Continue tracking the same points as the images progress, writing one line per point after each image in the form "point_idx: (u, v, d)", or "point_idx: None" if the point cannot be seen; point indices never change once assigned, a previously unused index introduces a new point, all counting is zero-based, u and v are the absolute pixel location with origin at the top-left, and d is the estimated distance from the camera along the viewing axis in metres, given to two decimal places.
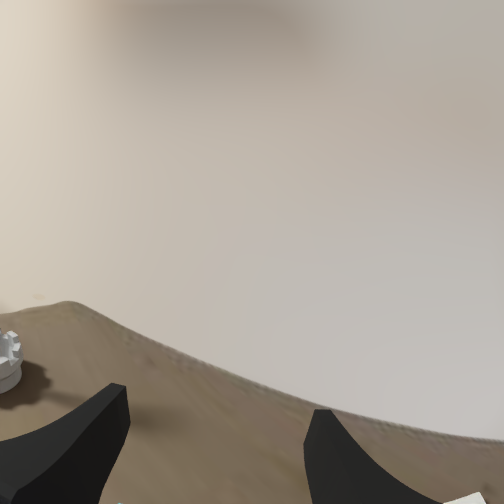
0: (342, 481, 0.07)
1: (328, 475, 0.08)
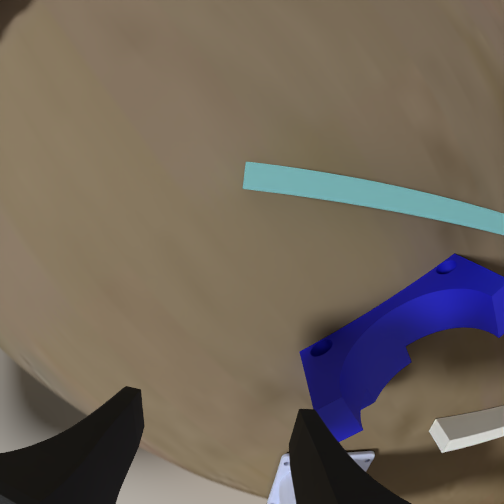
0: (322, 482, 0.07)
1: (310, 475, 0.08)
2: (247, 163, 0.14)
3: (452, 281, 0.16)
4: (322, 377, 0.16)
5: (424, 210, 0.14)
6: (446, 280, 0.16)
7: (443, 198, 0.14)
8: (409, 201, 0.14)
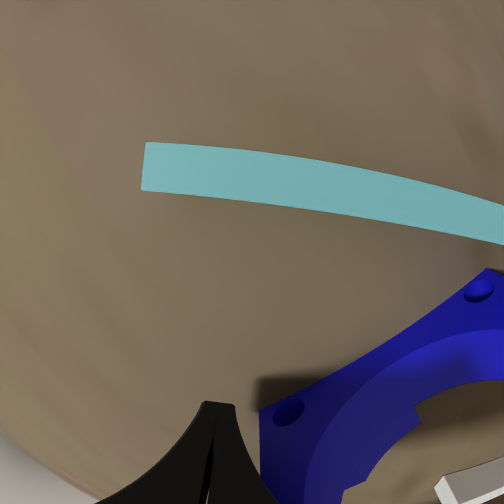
0: None
1: None
2: (148, 145, 0.07)
3: (490, 316, 0.09)
4: (282, 465, 0.09)
5: (465, 224, 0.08)
6: (481, 313, 0.10)
7: (493, 204, 0.08)
8: (442, 208, 0.08)
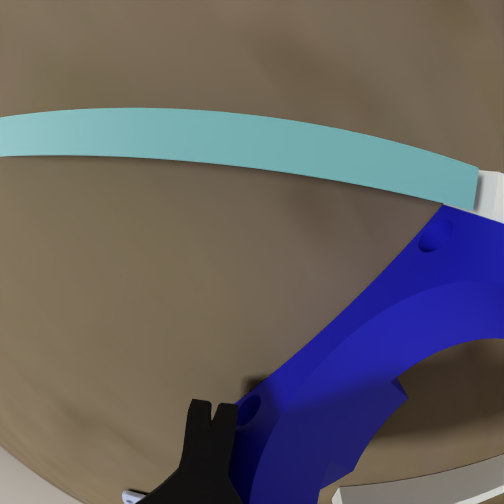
0: None
1: None
2: None
3: (448, 265, 0.08)
4: (236, 469, 0.09)
5: (160, 144, 0.07)
6: (437, 264, 0.09)
7: (210, 114, 0.07)
8: (125, 130, 0.07)
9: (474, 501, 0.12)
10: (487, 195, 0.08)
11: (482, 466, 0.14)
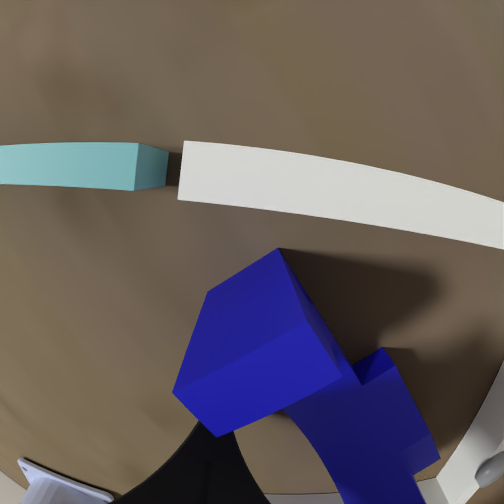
0: None
1: None
2: None
3: None
4: None
5: None
6: None
7: None
8: None
9: None
10: None
11: None
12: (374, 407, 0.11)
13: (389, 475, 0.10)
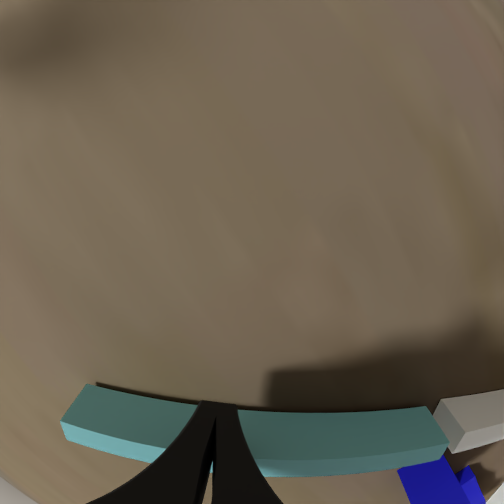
0: None
1: (214, 470, 0.08)
2: (61, 422, 0.10)
3: None
4: None
5: (270, 472, 0.10)
6: None
7: (301, 460, 0.10)
8: None
9: None
10: (455, 438, 0.11)
11: None
12: None
13: None
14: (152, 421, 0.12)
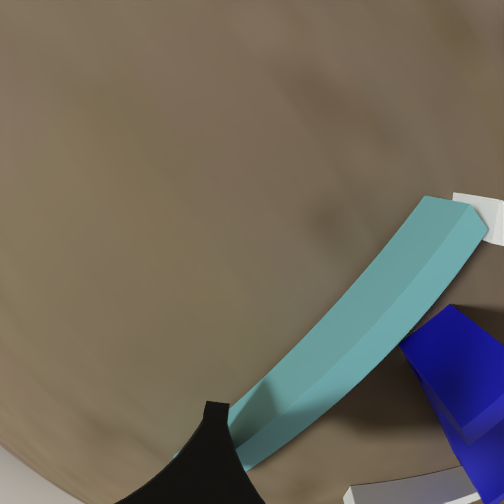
0: None
1: None
2: None
3: (434, 401, 0.11)
4: (473, 483, 0.11)
5: (315, 410, 0.10)
6: (431, 396, 0.11)
7: (321, 379, 0.09)
8: (290, 423, 0.10)
9: (477, 497, 0.13)
10: (488, 220, 0.09)
11: None
12: None
13: (500, 452, 0.11)
14: None
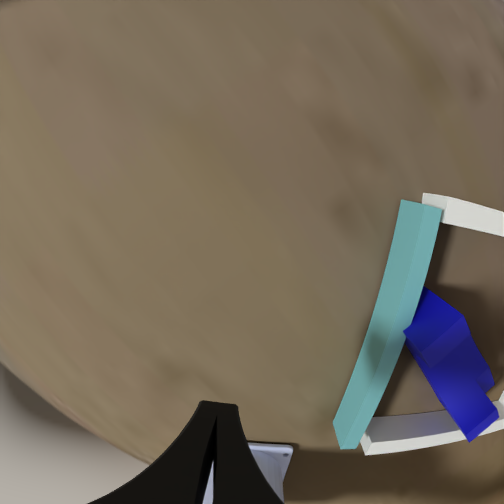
0: None
1: (215, 471, 0.08)
2: (341, 448, 0.19)
3: (410, 345, 0.18)
4: (454, 420, 0.18)
5: (398, 346, 0.17)
6: (408, 343, 0.18)
7: (392, 328, 0.17)
8: (388, 359, 0.17)
9: None
10: (442, 209, 0.16)
11: None
12: (460, 356, 0.19)
13: (472, 393, 0.18)
14: (353, 397, 0.19)
